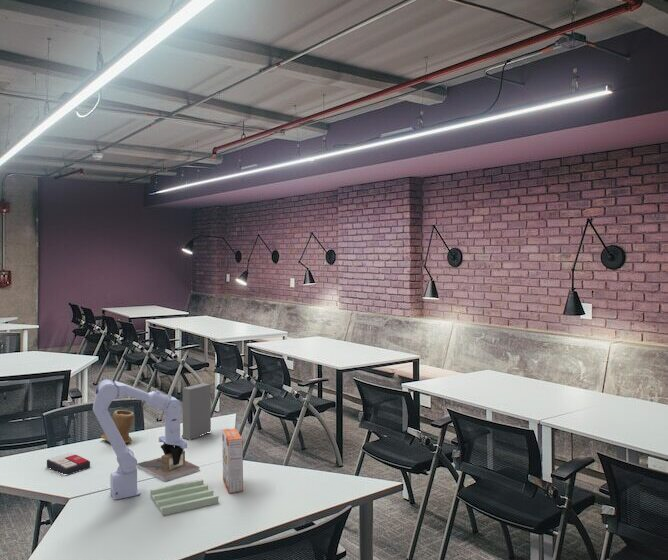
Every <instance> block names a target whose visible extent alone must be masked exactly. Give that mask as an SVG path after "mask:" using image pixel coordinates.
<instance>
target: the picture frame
mask: <svg viewBox="0 0 668 560" xmlns="http://www.w3.org/2000/svg"><path fill="white" fill-rule="evenodd" d="M137 469H138V470H141V471H143V472H145V473H146V474H148V475H150V476H152V477H154V478H156V479H158V480H160V481H162V482H167V481H168V482H169V481H170V480H174V479H177V478H180V477H184V476H187V475H190V474H193V473H196V472H199V471H200V466H198V465H196V464H193V463H192V462H189V461H187V460H185V466H183V467H181V468H178V469H175V470H173V471H170V472H168V473H166V472H163V471H162V456H161V457H157V458H154V459H150V460H146V461H142V462H139V463H138V462H137Z"/></svg>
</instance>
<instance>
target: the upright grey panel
mask: <svg viewBox="0 0 668 560" xmlns="http://www.w3.org/2000/svg"><path fill="white" fill-rule="evenodd" d="M211 390H212V389H211V384H210V383H205V382H202V383H198V384H194V385H189V386H185V387H182V435H181V438H182V437H183V438H182V439H185V438H186V439H185V440H188V439H191V440H193V439H192V438H194V437H197V436H200V435H202V434H205V433H207V432H210V431H211V432H212V430H211V427H212V426H211V425H212V424H211V423H212V419H211V418H212V417H211V414H212V413H211V411H212V408H211V407H212V406H211V405H212V404H211V403H212V401H211V400H212V399H211V397H212V396H211V395H212V394H211ZM200 437H201V436H200ZM197 438H198V437H197ZM194 439H195V438H194Z"/></svg>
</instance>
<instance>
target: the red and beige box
mask: <svg viewBox="0 0 668 560" xmlns="http://www.w3.org/2000/svg"><path fill="white" fill-rule="evenodd" d="M47 467H48V468H47ZM46 468H47V469H49V468H51V469H53V470H52V471H54V470H55V472H56V471H58V472H57V473H59V472H60V473H59V474H61V473H63V474H69V475H71V474H70V473H72V474H74V473H73V472H75V473H77V472H76V471H78V472H80V471H79V470H81V471H84V470H87V469H90V468H91V461H90V460H89V459H86V458H85V457H83V456H80V455H78V454H75V453H73V452H67V453H64V454H61V455H58V456H54V457H51V458H48V459H46ZM86 468H87V469H86ZM51 469H50V470H51ZM83 469H84V470H83ZM63 474H62V475H63Z"/></svg>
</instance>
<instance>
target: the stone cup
mask: <svg viewBox="0 0 668 560" xmlns="http://www.w3.org/2000/svg"><path fill="white" fill-rule="evenodd" d="M111 417H112V419H113V421H114V423H115V425H116V427H117V429H118V431H119V433H120V435H121V437H122V438H123V440H124V442H125V444H128V443H130V442H132V441H133V439H132V437H130V434H129V433H130V430H131V428H132V425H133V423H134V419H135V414H134V412H133V411H130V410H126V409H117V410H114V411H113V413H112V416H111ZM100 437H101V439H102V440H105V441H106V442H109V440H108V438H107V436H106V434H105V433H103V434H102V435H100Z"/></svg>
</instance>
